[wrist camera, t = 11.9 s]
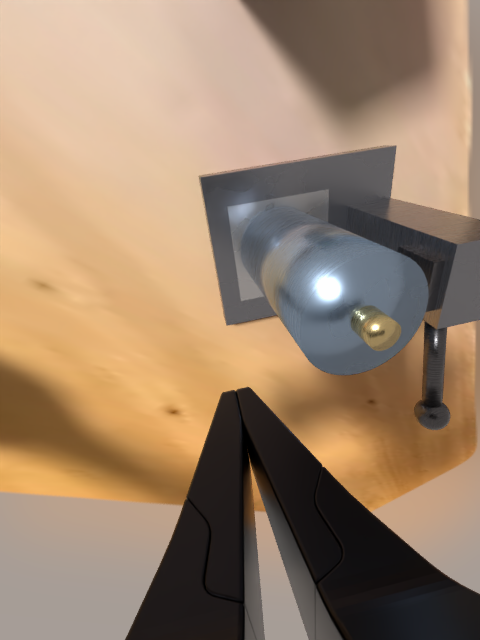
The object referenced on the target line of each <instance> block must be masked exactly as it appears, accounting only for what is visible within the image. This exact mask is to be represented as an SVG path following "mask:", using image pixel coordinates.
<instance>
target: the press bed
mask: <svg viewBox="0 0 480 640" xmlns="http://www.w3.org/2000/svg"><path fill="white" fill-rule="evenodd" d="M395 154H396V146H380V147H374V148H367V149H361V150H355V151H349V152H343V153H337V154H330V155H324V156H318V157H312V158H306V159H299V160H293V161H287V162H281V163H275V164H269V165H262V166H256V167H250V168H244V169H238V170H231V171H225V172H219V173H213V174H207V175H201V176H199V180H200V186H201V191H202V197H203V202H204V208H205V213H206V219H207V224H208V230H209V235H210V241H211V246H212V252H213V257H214V263H215V268H216V274H217V279H218V285H219V290H220V296H221V301H222V307H223V312H224V318H225V321H226V325H232V324H236V323H241V322H246V321H251V320H256V319H260V318H265V317H270V316H275V315H277V314H276V313H275V311H274V310H273V308H272V307H271V305H270V304H269V302H268V301H267V300H266V298H265V297H264V295H263V294H262V292H261V291H260V289H259V288H258V287H257V285H256V284H255V282H254V281H253V279H252V278H251V276H250V275H249V274H248V272H247V271H246V269H245V267H244V265H243V262H242V258H241V243H242V239H243V236H244V233H245V231H246V229H247V228H248V226H249V225H250V223H251V222H252V221H253V220H254V219H255V218H256V217H257V216H258V215H260V214H261V213H263V212H264V211H266V210H269V209H271V208H275V207H291V208H295V209H297V210H300V211H302V212H304V213H307V214H309V215H311V216H314V217H316V218H318V219H321V220H323V221H325V222H328V223H330V224H333V225H335V226H337V227H340V228H342V229H344V230H347V231H349V232H351V233H354V234H356V235H358V236H361V237H363V238H365V239H368V240H370V241H372V242H375V243H377V244H380V245H382V246H384V247H387V248H389V249H391V250H394V251H396V252H398V253H401V254H403V255H405V256H407V257H409V258H411V259H412V260H413V261H415V262H416V263H417V264H418V265H419V266H420V267H421V269H422V271H423V272H424V274H425V277H426V279H427V283H428V292H429V296H428V304H427V309H426V312H425V315H424V318H423V320H424V321H425V328H424V355H423V383H422V400H420V401H419V402H418V403H417V404H416V405H415V408H414V415H415V418H416V420H417V421H418V422H419V423H420V424H421V425H422V426H423V427H425V428H427V429H431V430H439V429H442V428H444V427H445V426H447V424H448V423H449V421H450V412H449V409H448V408H447V406H446V405H445V404H444V403H443V402H442V399H443V383H444V367H445V351H446V335H447V327H450V326H454V325H459V324H463V323H468V322H472V321H477V320H480V220H478V219H474V218H470V217H466V216H462V215H458V214H454V213H450V212H445V211H441V210H437V209H433V208H429V207H425V206H421V205H416V204H412V203H408V202H404V201H400V200H396V199H392V198H390V196H391V187H392V179H393V170H394V162H395Z"/></svg>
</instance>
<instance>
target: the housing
mask: <svg viewBox="0 0 480 640" xmlns="http://www.w3.org/2000/svg"><path fill="white" fill-rule="evenodd" d="M241 258H242V262H243V265H244V267H245V269H246V271H247V272H248V274H249V275H250V276H251V278H252V279H253V281H254V282H255V284H256V285H257V287H258V288H259V289H260V291H261V292H262V294H263V295H264V297H265V298H266V300H267V301H268V302H269V304H270V305H271V307H272V308H273V310H274V311H275V313H276V314H277V315H278V317H279V318H280V320H281V321H282V323H283V324H284V326H285V327H286V328H287V330H288V331H289V333H290V334H291V336H292V337H293V339H294V340H295V341H296V343H297V344H298V346H299V347H300V349H301V350H302V352H303V353H304V354H305V356H306V357H307V359H308V360H309V361H310V362H311V363H312V364H313V365H314V366H315V367H317V368H318V369H320V370H322V371H324V372H326V373H330V374H334V375H353V374H358V373H362V372H365V371H368V370H371V369H373V368H375V367H378V366H379V365H381V364H383V363H385V362H386V361H388V360H389V359H391V358H392V357H393V356H395V355H396V354H397V353H398V352H399V351H400V350H401V349H403V348H404V347H405V345H406V344H407V343H408V342H409V341H410V340H411V338H412V337H413V336H414V334H415V333H416V331H417V330H418V328H419V326H420V324H421V322H422V320H423V318H424V315H425V312H426V309H427V304H428V296H429V292H428V283H427V279H426V277H425V274H424V272H423V271H422V269H421V267H420V266H419V265H418V264H417V263H416V262H415V261H413V260H412V259H411V258H409V257H407V256H405V255H403V254H401V253H398V252H396V251H394V250H391V249H389V248H387V247H384V246H382V245H380V244H377V243H375V242H372V241H370V240H368V239H365V238H363V237H361V236H358V235H356V234H354V233H351V232H349V231H347V230H344V229H342V228H340V227H337V226H335V225H333V224H330V223H328V222H325V221H323V220H321V219H318V218H316V217H314V216H311V215H309V214H307V213H304V212H302V211H300V210H297V209H295V208H291V207H275V208H271V209H269V210H266V211H264V212H263V213H261V214H260V215H258V216H257V217H256V218H255V219H254V220H253V221H252V222H251V223H250V225H249V226H248V228H247V229H246V231H245V233H244V236H243V239H242V243H241Z"/></svg>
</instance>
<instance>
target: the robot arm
mask: <svg viewBox="0 0 480 640" xmlns="http://www.w3.org/2000/svg"><path fill="white" fill-rule="evenodd" d="M247 449H248V450H247ZM248 454H249V455H248ZM249 459H250V461H249ZM250 463H251V467H252V470H253V473H254V476H255V479H256V482H257V485H258V488H259V491H260V494H261V497H262V500H263V503H264V506H265V509H266V512H267V515H268V518H269V521H270V524H271V527H272V530H273V533H274V536H275V539H276V542H277V545H278V548H279V551H280V554H281V557H282V560H283V563H284V566H285V569H286V572H287V575H288V578H289V581H290V584H291V587H292V590H293V593H294V596H295V599H296V602H297V605H298V608H299V611H300V614H301V617H302V620H303V623H304V626H305V629H306V632H307V635H308V638H309V640H480V594H479V593H477V592H475V591H473V590H471V589H469V588H467V587H465V586H463V585H461V584H459V583H458V582H456V581H455V580H453V579H451V578H450V577H448V576H447V575H445V574H444V573H442V572H441V571H440V570H438V569H437V568H436V567H434V566H433V565H432V564H431V563H429V562H428V561H427V560H426V559H424V558H423V557H422V556H421V555H420V554H419V553H417V552H416V551H415V550H414V549H413V548H412V547H410V546H409V545H408V544H407V543H406V542H405V541H404V540H402V539H401V538H400V537H399V536H398V535H397V534H395V533H394V532H393V531H392V530H391V529H390V528H388V527H387V526H386V525H385V524H384V523H383V522H381V521H380V520H379V519H378V518H377V517H376V516H375V515H373V514H372V513H371V512H370V511H369V510H368V509H367V508H365V507H364V506H363V505H362V504H361V503H360V502H359V501H358V500H357V499H356V498H354V497H353V496H352V495H351V494H350V493H349V492H348V491H347V490H346V489H345V488H344V487H343V486H342V485H341V484H340V483H339V482H338V481H337V480H336V479H335V478H334V477H333V476H332V475H331V473H330V472H329V471H328V470H327V469H326V468H325V467H322V464H321V463H320V462H319V461H318V460H317V459H316V458H315V457H314V455H313V454H312V453H311V452H310V451H309V450H308V449H307V448H306V447H305V446H304V445H303V444H302V443H301V442H300V440H299V439H298V438H297V437H296V436H295V435H294V434H293V433H292V432H291V431H290V430H289V429H288V428H287V427H286V426H285V424H284V423H283V422H282V421H281V420H280V419H279V418H278V417H277V416H276V415H275V414H274V413H273V412H272V411H271V409H270V408H269V407H268V406H267V405H266V404H265V403H264V402H263V401H262V400H261V399H260V398H259V397H258V396H257V395H256V393H255V392H254V391H253V390H252V389H251V388H250V387H246V388H241V389H237V390H236V391H235V390H231V391H227V392H223V393H222V394H221V397H220V400H219V403H218V406H217V408H216V411H215V414H214V417H213V420H212V423H211V426H210V429H209V432H208V435H207V438H206V441H205V444H204V447H203V450H202V452H201V455H200V458H199V461H198V464H197V467H196V470H195V473H194V476H193V479H192V482H191V485H190V488H189V491H188V494H187V499H186V500H185V502H184V505H183V508H182V511H181V514H180V517H179V519H178V522H177V524H176V527H175V530H174V532H173V535H172V538H171V540H170V542H169V545H168V547H167V549H166V552H165V554H164V556H163V559H162V561H161V563H160V566H159V568H158V570H157V572H156V574H155V576H154V578H153V581H152V583H151V585H150V587H149V590H148V591H147V594H146V596H145V598H144V600H143V602H142V604H141V607H140V609H139V611H138V613H137V615H136V617H135V620H134V622H133V624H132V626H131V628H130V630H129V633H128V635H127V637H126V639H125V640H265V637H264V625H263V613H262V600H261V588H260V577H259V564H258V552H257V539H256V528H255V515H254V503H253V490H252V478H251V468H250Z"/></svg>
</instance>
